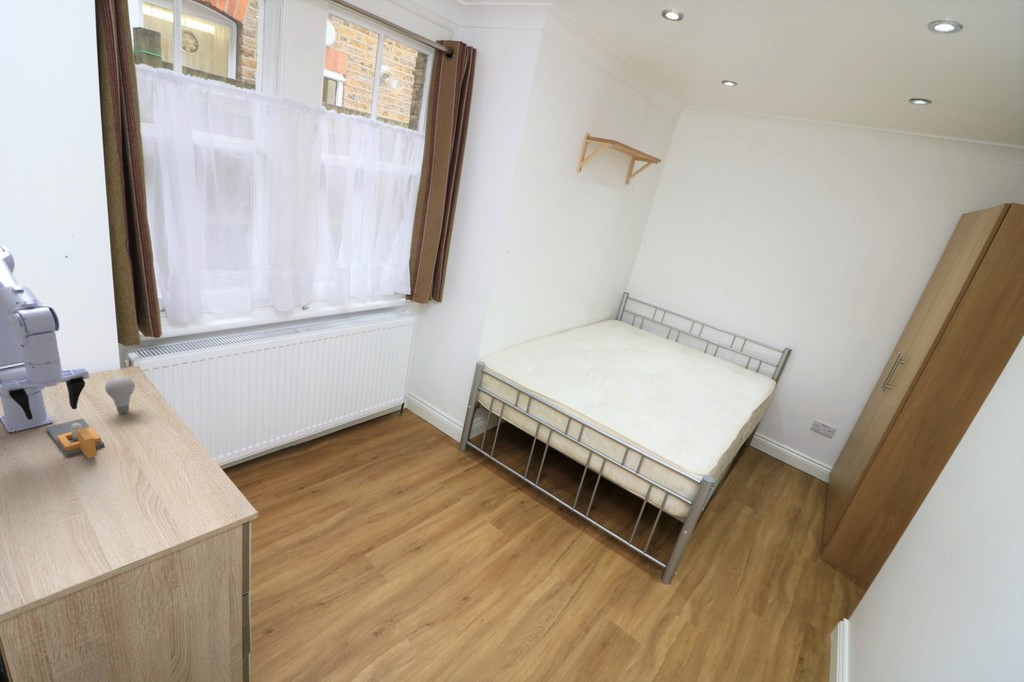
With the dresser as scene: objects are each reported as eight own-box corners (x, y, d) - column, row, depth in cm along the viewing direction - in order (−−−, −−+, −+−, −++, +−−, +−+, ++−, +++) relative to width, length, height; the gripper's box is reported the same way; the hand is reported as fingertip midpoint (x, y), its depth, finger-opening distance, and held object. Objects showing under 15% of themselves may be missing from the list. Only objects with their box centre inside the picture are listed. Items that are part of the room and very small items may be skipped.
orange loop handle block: (57, 439, 114) (54, 422, 112) (91, 430, 119) (88, 413, 117) (74, 462, 108) (71, 443, 106) (109, 451, 113) (107, 434, 111)
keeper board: (46, 430, 117) (43, 411, 116) (83, 421, 123) (80, 403, 121) (66, 457, 110) (63, 437, 108) (104, 446, 116) (101, 427, 114)
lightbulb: (141, 413, 130) (137, 378, 127) (114, 420, 125) (109, 384, 122) (131, 405, 133) (127, 370, 129) (105, 412, 128) (99, 375, 124)
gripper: (0, 374, 97) (12, 430, 102) (90, 358, 109) (97, 409, 114) (-9, 362, 101) (4, 416, 105) (79, 348, 112) (87, 398, 117)
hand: (52, 412), depth 110 cm, fingers open, 7 cm apart
